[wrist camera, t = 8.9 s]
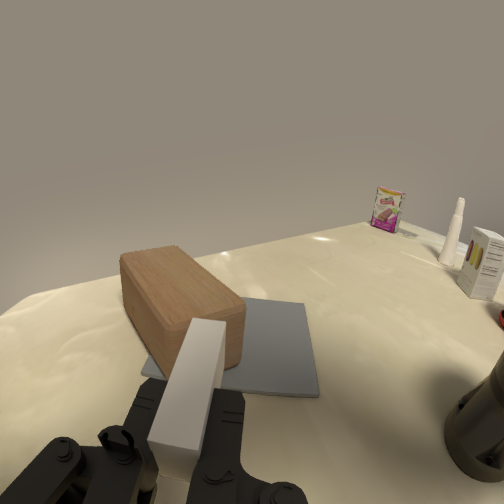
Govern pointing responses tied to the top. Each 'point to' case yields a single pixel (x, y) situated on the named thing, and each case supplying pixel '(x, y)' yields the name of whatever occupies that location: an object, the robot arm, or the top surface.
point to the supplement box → (482, 265)
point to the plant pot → (502, 317)
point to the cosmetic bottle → (452, 236)
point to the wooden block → (177, 303)
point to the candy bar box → (388, 209)
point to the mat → (268, 353)
